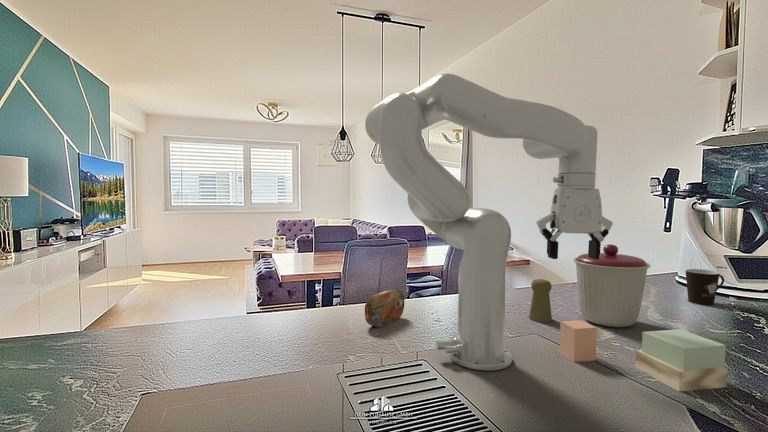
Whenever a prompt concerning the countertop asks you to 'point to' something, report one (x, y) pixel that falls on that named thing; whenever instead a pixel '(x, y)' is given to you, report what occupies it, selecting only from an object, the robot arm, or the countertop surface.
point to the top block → (683, 349)
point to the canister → (611, 287)
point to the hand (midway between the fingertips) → (573, 258)
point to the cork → (540, 301)
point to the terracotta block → (578, 340)
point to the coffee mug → (702, 285)
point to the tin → (384, 308)
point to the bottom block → (681, 374)
